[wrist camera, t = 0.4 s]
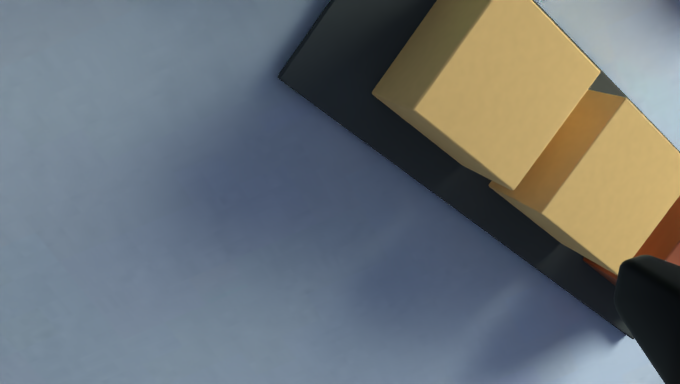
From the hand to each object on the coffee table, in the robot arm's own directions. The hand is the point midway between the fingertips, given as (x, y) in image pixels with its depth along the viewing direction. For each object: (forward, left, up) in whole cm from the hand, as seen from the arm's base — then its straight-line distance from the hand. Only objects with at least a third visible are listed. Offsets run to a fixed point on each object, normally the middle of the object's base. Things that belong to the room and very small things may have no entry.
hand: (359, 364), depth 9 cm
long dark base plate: (+7, -11, -14) cm, 19 cm away
